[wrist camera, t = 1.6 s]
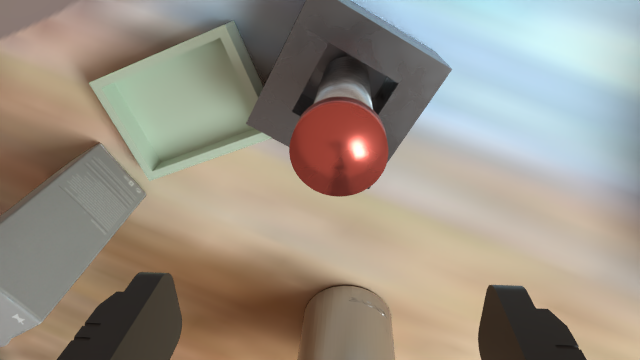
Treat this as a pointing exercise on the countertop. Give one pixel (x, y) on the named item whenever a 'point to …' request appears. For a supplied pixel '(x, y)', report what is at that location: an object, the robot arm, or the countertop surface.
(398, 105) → the block
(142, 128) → the dish
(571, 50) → the countertop surface
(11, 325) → the skincare box
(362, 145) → the pin
